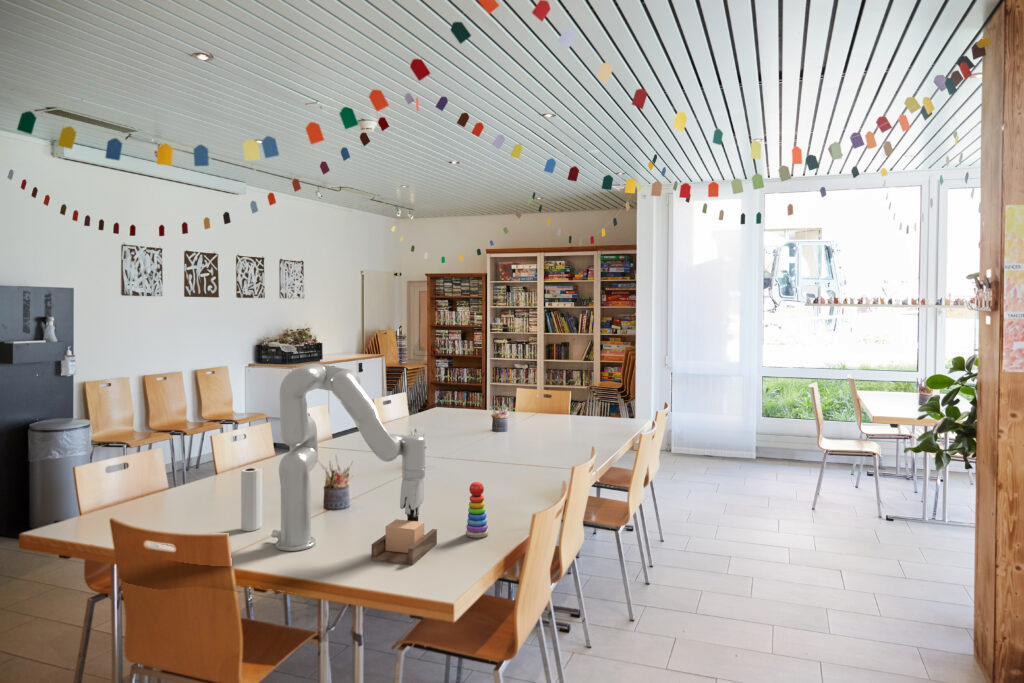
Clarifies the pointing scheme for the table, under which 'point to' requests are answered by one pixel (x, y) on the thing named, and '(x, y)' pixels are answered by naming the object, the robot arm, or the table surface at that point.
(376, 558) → the chute
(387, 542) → the block
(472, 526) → the stacking toy
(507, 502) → the table surface
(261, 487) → the paper towel roll
